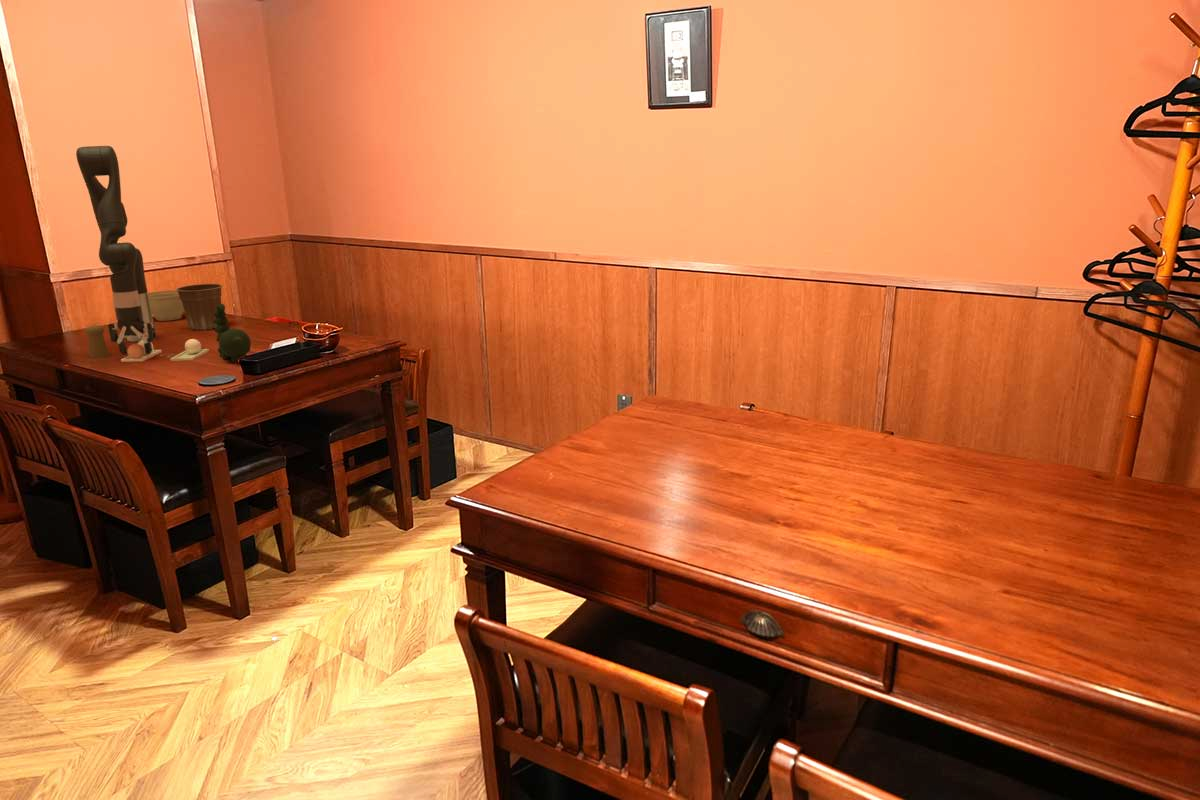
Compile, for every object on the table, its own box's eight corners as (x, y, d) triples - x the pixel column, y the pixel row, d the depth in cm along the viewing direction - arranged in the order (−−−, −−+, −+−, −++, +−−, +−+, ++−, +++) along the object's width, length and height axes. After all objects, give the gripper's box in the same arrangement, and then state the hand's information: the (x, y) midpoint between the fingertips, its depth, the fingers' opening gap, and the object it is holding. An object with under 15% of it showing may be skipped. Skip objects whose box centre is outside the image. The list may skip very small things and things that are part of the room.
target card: (163, 355, 276) (162, 352, 276) (180, 355, 276) (180, 351, 276) (151, 361, 268) (150, 357, 268) (169, 361, 269) (169, 357, 268)
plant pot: (185, 333, 309) (178, 291, 304) (180, 326, 322) (173, 286, 317) (231, 328, 318) (225, 287, 313) (224, 321, 331) (218, 282, 326)
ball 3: (189, 351, 278) (187, 337, 276) (204, 351, 278) (202, 337, 276) (183, 355, 273) (180, 340, 271) (198, 355, 273) (196, 340, 272)
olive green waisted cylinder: (114, 355, 276) (108, 323, 273) (102, 359, 270) (95, 327, 267) (97, 355, 277) (91, 323, 273) (85, 359, 271) (78, 327, 268)
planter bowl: (138, 322, 331) (133, 296, 328) (164, 315, 346) (160, 289, 343) (173, 323, 328) (169, 296, 325) (198, 315, 343) (194, 290, 340)
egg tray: (141, 353, 278) (140, 350, 278) (161, 353, 278) (161, 349, 278) (121, 363, 266) (120, 359, 265) (143, 362, 266) (142, 359, 266)
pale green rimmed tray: (188, 352, 279) (187, 349, 278) (209, 352, 279) (208, 348, 279) (170, 362, 266) (170, 358, 266) (192, 361, 266) (191, 358, 266)
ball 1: (133, 357, 271) (130, 342, 270) (148, 356, 271) (146, 342, 270) (125, 360, 267) (123, 345, 265) (141, 360, 267) (138, 345, 265)
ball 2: (142, 352, 277) (139, 338, 276) (157, 352, 277) (154, 338, 276) (135, 356, 272) (132, 341, 271) (150, 356, 272) (147, 341, 271)
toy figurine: (211, 359, 276) (228, 367, 256) (201, 304, 272) (218, 308, 252) (240, 355, 281) (259, 363, 261) (231, 301, 277) (250, 304, 257)
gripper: (155, 302, 268) (163, 350, 272) (111, 303, 267) (120, 351, 272) (144, 306, 260) (152, 356, 265) (98, 307, 260) (108, 357, 265)
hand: (136, 353), depth 268 cm, fingers open, 7 cm apart
